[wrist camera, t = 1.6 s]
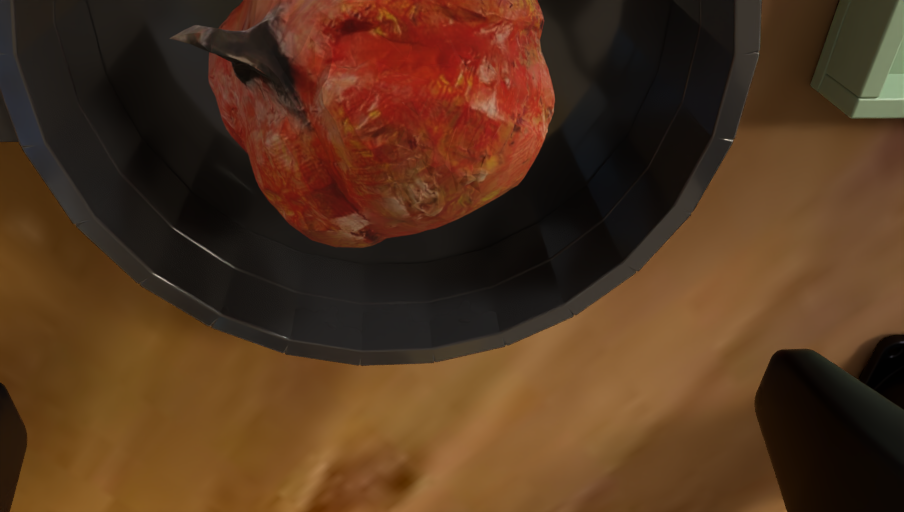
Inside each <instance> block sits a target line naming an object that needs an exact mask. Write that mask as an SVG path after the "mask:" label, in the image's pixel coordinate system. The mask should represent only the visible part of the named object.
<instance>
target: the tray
mask: <svg viewBox="0 0 904 512" xmlns="http://www.w3.org/2000/svg"><path fill="white" fill-rule="evenodd" d="M811 87H812V88H814V89H815V90H816V91H818V92H819V93H820V94H821V95H823V96H824V97H825V98H826V99H827V100H829V101H830V102H831V103H832V104H834V105H835V106H836V107H837V108H839V109H840V110H841V111H842V112H843V113H845V114H846V115H847V116H848V117H850V118H904V0H840V1H839V4H838V7H837V9H836V12H835V15H834V18H833V21H832V24H831V27H830V30H829V32H828V35H827V38H826V41H825V44H824V47H823V50H822V53H821V56H820V58H819V61H818V64H817V67H816V70H815V73H814V76H813V79H812V81H811Z"/></svg>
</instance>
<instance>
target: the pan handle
mask: <svg viewBox="0 0 904 512" xmlns="http://www.w3.org/2000/svg"><path fill="white" fill-rule="evenodd" d="M0 142H19V141H18V139H17V136H16V133H15V130H14V128H13V125H12V122H11V120H10V117H9V114H8V111H7V109H6V106H5V103H4V101H3V98H2V95H1V93H0Z"/></svg>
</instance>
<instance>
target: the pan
mask: <svg viewBox="0 0 904 512" xmlns="http://www.w3.org/2000/svg"><path fill="white" fill-rule="evenodd" d="M242 1H243V0H0V93H1V95H2V98H3V101H4V103H5V106H6V109H7V111H8V114H9V117H10V120H11V122H12V125H13V128H14V130H15V133H16V136H17V139H18V141H19V144H20V146H22V150H23V151H24V153H25V154H26V156H27V157H28V159H29V160H30V162H31V163H32V165H33V166H34V168H35V169H36V170H37V172H38V173H39V175H40V176H41V178H42V179H43V181H44V182H45V184H46V185H47V187H48V188H49V189H50V191H51V192H52V194H53V195H54V197H55V198H56V200H57V201H58V203H59V204H60V206H61V207H62V208H63V210H64V211H65V213H66V214H67V216H68V217H69V219H70V220H71V222H72V223H73V224H76V227H77V228H78V229H79V230H80V231H81V232H82V233H83V234H84V235H85V236H87V237H88V238H89V239H90V240H91V241H92V242H93V243H94V244H95V245H96V246H97V247H98V248H100V249H101V250H102V251H103V252H104V253H105V254H106V255H107V256H108V257H109V258H110V259H111V260H112V261H114V262H115V263H116V264H117V265H118V266H119V267H120V268H121V269H122V270H123V271H124V272H125V273H127V274H128V275H129V276H130V277H131V278H132V279H133V280H134V281H135V282H136V283H138V284H140V285H141V286H142V287H143V288H145V289H147V290H148V291H150V292H152V293H153V294H155V295H157V296H158V297H160V298H162V299H163V300H165V301H167V302H168V303H170V304H172V305H173V306H175V307H177V308H178V309H180V310H182V311H183V312H185V313H187V314H188V315H190V316H192V317H193V318H195V319H197V320H198V321H200V322H202V323H203V324H205V325H207V326H211V327H212V328H213V329H216V330H219V331H221V332H224V333H227V334H230V335H233V336H236V337H238V338H241V339H244V340H247V341H250V342H252V343H255V344H258V345H261V346H264V347H266V348H269V349H272V350H275V351H278V352H281V353H285V354H286V355H293V356H299V357H306V358H312V359H319V360H325V361H332V362H338V363H345V364H351V365H361V366H366V365H394V364H423V363H434V361H435V362H440V361H444V360H449V359H453V358H457V357H462V356H466V355H471V354H475V353H479V352H484V351H488V350H493V349H497V348H501V347H505V346H506V345H511V344H513V343H515V342H518V341H520V340H522V339H524V338H527V337H529V336H531V335H533V334H536V333H538V332H540V331H542V330H545V329H547V328H549V327H552V326H554V325H556V324H558V323H561V322H563V321H565V320H567V319H570V318H572V317H573V316H574V315H577V314H579V313H580V312H582V311H583V310H584V309H586V308H587V307H589V306H590V305H591V304H593V303H594V302H596V301H597V300H599V299H600V298H601V297H603V296H604V295H606V294H607V293H608V292H610V291H611V290H613V289H614V288H616V287H617V286H618V285H620V284H621V283H623V282H624V281H625V280H627V279H628V278H630V277H631V276H633V275H634V274H635V273H636V271H639V270H640V269H641V268H642V267H643V266H644V265H645V264H646V263H647V262H648V261H649V259H650V258H651V257H652V256H653V255H654V254H655V253H656V252H657V251H658V250H659V249H660V248H661V247H662V245H663V244H664V243H665V242H666V241H667V240H668V239H669V238H670V237H671V236H672V235H673V234H674V233H675V231H676V230H677V229H678V228H679V227H680V226H681V225H682V224H683V223H684V222H685V221H686V220H687V218H688V217H689V216H690V215H691V213H692V212H693V211H694V209H695V207H696V206H697V204H698V202H699V200H700V199H701V197H702V195H703V193H704V192H705V190H706V188H707V187H708V185H709V183H710V181H711V180H712V178H713V176H714V174H715V173H716V171H717V169H718V168H719V166H720V164H721V162H722V161H723V159H724V157H725V155H726V154H727V152H728V150H729V149H730V147H731V145H732V143H733V139H735V136H736V133H737V129H738V126H739V123H740V119H741V116H742V112H743V109H744V106H745V102H746V99H747V96H748V92H749V89H750V85H751V82H752V79H753V75H754V72H755V68H756V65H757V62H758V58H759V51H760V36H761V4H762V0H537V1H538V4H539V6H540V8H541V10H542V14H543V18H544V24H543V28H542V33H541V37H540V46H541V52H542V53H543V56H544V59H545V62H546V65H547V67H548V71H549V75H550V78H551V81H552V86H553V90H554V95H555V103H554V113H553V116H552V119H551V121H550V123H549V125H548V128H547V129H548V132H547V133H546V136H545V140H544V142H543V144H542V147H541V149H540V151H539V153H538V155H537V157H536V159H535V160H534V162H533V164H532V166H531V167H530V169H529V170H528V172H527V174H526V175H525V177H524V178H523V180H522V181H521V182H520V183H519V184H518V185H517V186H515V187H514V188H512V189H510V190H509V191H507V192H506V193H504V194H503V195H501V196H500V197H498V198H496V199H494V200H493V201H491V202H489V203H487V204H485V205H483V206H482V207H480V208H478V209H476V210H475V211H473V212H471V213H469V214H467V215H465V216H463V217H461V218H459V219H457V220H455V221H452V222H450V223H447V224H445V225H443V226H440V227H438V228H435V229H430V230H426V231H423V232H420V233H417V234H411V235H405V236H398V237H391V238H386V239H384V240H382V241H381V242H379V243H377V244H375V245H373V246H368V247H364V248H356V247H334V246H330V245H327V244H323V243H320V242H316V241H312V240H311V239H309V238H308V237H306V236H305V235H304V234H302V233H301V232H299V231H298V230H297V229H295V228H294V227H292V226H291V225H290V224H289V223H288V222H287V221H286V220H285V219H284V217H283V216H282V215H281V214H280V213H279V212H278V210H277V209H276V208H275V207H274V206H273V205H272V204H271V203H270V202H269V201H268V199H267V198H266V196H265V195H264V194H263V192H262V191H261V189H260V188H259V186H258V183H257V181H256V179H255V175H254V172H253V169H252V165H251V162H250V158H249V154H248V153H247V152H246V151H245V150H244V149H243V148H242V147H241V146H240V145H239V144H238V143H237V142H236V141H235V140H234V138H233V137H232V136H231V135H230V133H229V132H228V131H227V129H226V127H225V125H224V123H223V120H222V117H221V114H220V111H219V107H218V104H217V100H216V97H215V95H214V93H213V91H212V89H211V86H210V84H209V79H208V71H209V52H208V51H205V50H203V49H200V48H198V47H196V46H193V45H191V44H188V43H185V42H181V41H177V40H174V39H170V38H171V37H173V36H174V35H176V34H178V33H180V32H181V31H183V30H185V29H187V28H190V27H192V26H194V25H199V26H206V27H212V28H219V27H220V25H221V24H222V23H223V22H224V21H225V20H226V19H227V17H228V16H229V15H230V13H231V12H232V10H234V9H235V8H236V7H238V6H239V5H240V4H241V3H242Z"/></svg>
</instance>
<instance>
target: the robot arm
mask: <svg viewBox="0 0 904 512" xmlns="http://www.w3.org/2000/svg"><path fill="white" fill-rule="evenodd" d="M755 412H756V416H757V419H758V422H759V425H760V428H761V431H762V435H763V438H764V441H765V444H766V447H767V450H768V453H769V456H770V459H771V463H772V466H773V469H774V472H775V475H776V478H777V481H778V484H779V487H780V491H781V494H782V497H783V500H784V503H785V506H786V509H787V512H904V335H894V336H889V337H886V338H884V339H883V340H881V341H880V342H879V343H878V344H877V346H876V348H875V350H874V352H873V354H872V355H871V357H870V359H869V361H868V363H867V365H866V367H865V369H864V371H863V373H862V374H861V376H860V378H859V380H858V379H856V378H855V377H853V376H852V375H850V374H849V373H847V372H846V371H844V370H843V369H841V368H840V367H838V366H837V365H835V364H834V363H832V362H831V361H829V360H828V359H826V358H825V357H823V356H822V355H820V354H819V353H817V352H815V351H813V350H810V349H785V350H779V351H777V352H776V353H775V354H774V355H773V356H772V357H771V359H770V362H769V364H768V367H767V369H766V371H765V374H764V376H763V378H762V381H761V383H760V385H759V388H758V390H757V392H756V396H755ZM26 447H27V432H26V428H25V425H24V423H23V421H22V419H21V417H20V415H19V413H18V411H17V409H16V407H15V405H14V403H13V401H12V399H11V397H10V395H9V393H8V391H7V389H6V387H5V386H4V385H3V384H2V383H0V512H10V509H11V505H12V501H13V498H14V494H15V490H16V486H17V482H18V479H19V475H20V471H21V467H22V463H23V459H24V456H25V452H26Z"/></svg>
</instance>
